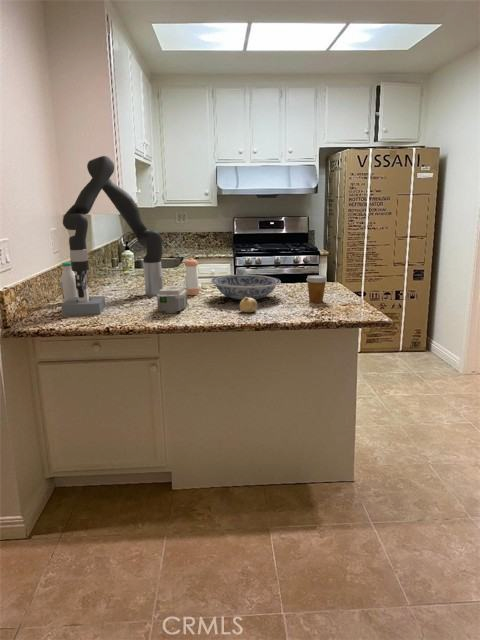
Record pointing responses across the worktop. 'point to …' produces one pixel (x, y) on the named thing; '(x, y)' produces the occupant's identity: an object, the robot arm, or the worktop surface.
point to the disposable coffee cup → (316, 288)
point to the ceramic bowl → (245, 286)
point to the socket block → (83, 306)
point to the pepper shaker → (191, 277)
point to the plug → (86, 295)
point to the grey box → (172, 299)
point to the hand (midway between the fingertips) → (83, 295)
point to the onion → (248, 305)
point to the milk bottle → (68, 282)
